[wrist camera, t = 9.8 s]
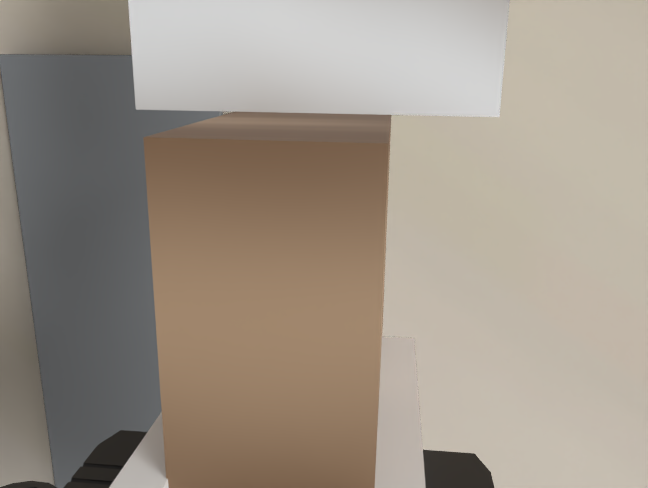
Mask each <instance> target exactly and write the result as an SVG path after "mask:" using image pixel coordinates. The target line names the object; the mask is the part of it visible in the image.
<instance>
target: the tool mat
mask: <svg viewBox="0 0 648 488" xmlns="http://www.w3.org/2000/svg"><path fill="white" fill-rule="evenodd" d="M0 69H1V77H2V85H3V92H4V100H5V107H6V115H7V123H8V130H9V138H10V145H11V153H12V161H13V168H14V176H15V184H16V191H17V199H18V206H19V214H20V222H21V229H22V237H23V244H24V252H25V260H26V267H27V275H28V282H29V290H30V298H31V305H32V313H33V320H34V328H35V336H36V343H37V351H38V358H39V366H40V374H41V381H42V389H43V396H44V404H45V412H46V419H47V427H48V434H49V442H50V450H51V457H52V465H53V472H54V480H55V487H57V488H64V486H65V485H66V484H67V483H68V482H71V478H72V476H73V475H74V474H75V473H76V471H77V470H78V469H79V468H80V466H81V467H83V463H84V461H85V460H86V459H87V458H88V456H89V455H90V454H91V453H92V451H93V450H94V449H95V448H96V447H97V445H98V444H100V443H101V442H103V441H105V440H106V439H108V438H109V437H111V436H112V435H114V434H115V433H117V432H119V431H120V430H127V431H141V432H148V431H149V429H150V428H151V426H152V425H153V423H154V422H155V421H156V419H157V418H158V416H159V415H160V413H161V412H162V409H161V394H160V379H159V364H158V349H157V334H156V319H155V305H154V290H153V275H152V260H151V245H150V230H149V215H148V200H147V185H146V170H145V155H144V140H143V137H146V136H150V135H153V134H157V133H160V132H164V131H168V130H171V129H175V128H178V127H182V126H185V125H189V124H193V123H196V122H200V121H203V120H207V119H211V118H214V117H218V116H221V115H222V111H182V110H136V106H135V92H134V77H133V63H132V55H25V54H0Z"/></svg>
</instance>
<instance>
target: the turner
mask: <svg viewBox="0 0 648 488" xmlns="http://www.w3.org/2000/svg"><path fill="white" fill-rule="evenodd" d="M509 2H510V0H128V5H129V20H130V34H131V48H132V63H133V77H134V92H135V106H136V110H182V111H230V112H232V113H228V114H225V115H221V116H218V117H214V118H211V119H207V120H203V121H200V122H196V123H193V124H189V125H185V126H182V127H178V128H175V129H171V130H168V131H164V132H160V133H157V134H153V135H150V136H146V137H143V140H144V155H145V170H146V185H147V200H148V215H149V230H150V245H151V260H152V275H153V290H154V305H155V319H156V334H157V349H158V364H159V379H160V394H161V409H162V424H163V439H164V454H165V469H166V479H168V487H169V488H375V469H376V449H377V428H378V408H379V387H380V367H381V347H382V326H383V302H384V277H385V253H386V229H387V204H388V180H389V156H390V132H391V115H425V116H473V117H499V115H500V104H501V93H502V81H503V70H504V59H505V47H506V36H507V25H508V13H509Z"/></svg>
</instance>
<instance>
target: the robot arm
mask: <svg viewBox="0 0 648 488" xmlns="http://www.w3.org/2000/svg"><path fill="white" fill-rule="evenodd" d="M0 488H57V487H55V486H53V485H51V484H50V483H45V482H36V481H27V482H20V483H12V484H9V485H6V486H3V487H0ZM64 488H169V487H168V479H166V469H165V454H164V439H163V424H162V412H161V413H160V415H159V416H158V418H157V419H156V421H155V422H154V423H153V425H152V426H151V428H150V429H149V431H148V432H141V431H127V430H120V431H119V432H117V433H115V434H114V435H112V436H111V437H109V438H108V439H106V440H105V441H103V442H101V443H100V444H98V445H97V447H96V448H95V449H94V450H93V451H92V453H91V454H90V455H89V456H88V458H87V459H86V460H85V461H84V463H83V467H81V466H80V468H79V469H78V470H77V471H76V473H75V474H74V475H73V476H72V478H71V482H68V483H67V484H66V485H65V486H64ZM375 488H494V485H493V480H492V476H491V472H490V471H489V470H488V469H487V468H486V466H485V465H484V464H483V463H482V462H481V461H480V460H479V458H478V457H477V456H476V455H475V454H472V453H458V452H445V451H431V450H423V446H422V432H421V419H420V406H419V392H418V379H417V366H416V353H415V339H414V338H406V337H387V336H382V347H381V367H380V387H379V408H378V428H377V449H376V469H375Z"/></svg>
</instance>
